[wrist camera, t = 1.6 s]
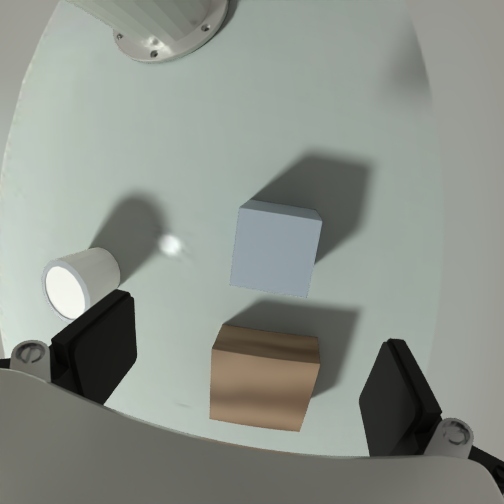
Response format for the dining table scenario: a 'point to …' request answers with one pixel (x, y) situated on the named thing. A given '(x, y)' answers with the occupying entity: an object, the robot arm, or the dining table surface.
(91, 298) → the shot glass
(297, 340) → the walnut block
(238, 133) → the dining table surface
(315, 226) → the slate cube
